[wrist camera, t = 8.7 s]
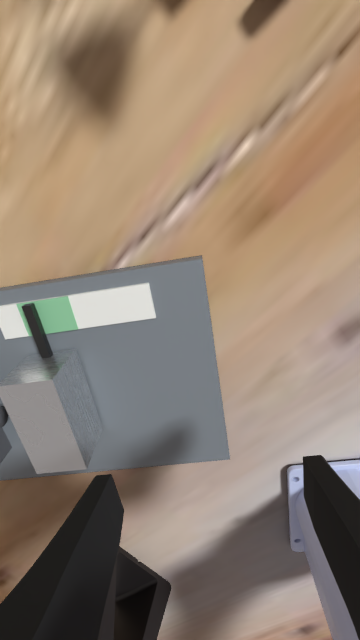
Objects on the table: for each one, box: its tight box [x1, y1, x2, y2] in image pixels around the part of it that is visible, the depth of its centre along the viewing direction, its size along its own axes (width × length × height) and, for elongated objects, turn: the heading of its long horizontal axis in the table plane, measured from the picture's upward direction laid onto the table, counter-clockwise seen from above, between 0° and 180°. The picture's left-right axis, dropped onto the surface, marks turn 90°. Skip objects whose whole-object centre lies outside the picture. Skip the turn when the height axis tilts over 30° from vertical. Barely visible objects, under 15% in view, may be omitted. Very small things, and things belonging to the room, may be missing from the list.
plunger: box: [0, 303, 103, 474], centre depth 17 cm, size 9×3×3 cm, turn 10°
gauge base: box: [0, 255, 230, 481], centre depth 18 cm, size 14×18×4 cm
